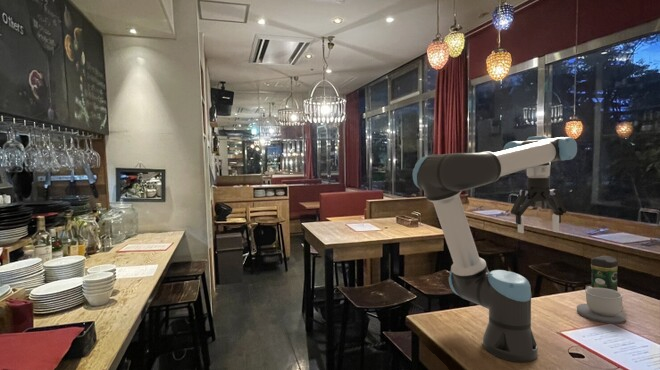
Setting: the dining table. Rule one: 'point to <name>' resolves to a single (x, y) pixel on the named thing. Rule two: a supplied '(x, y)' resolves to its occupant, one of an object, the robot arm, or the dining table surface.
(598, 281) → the coffee jar
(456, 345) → the dining table surface
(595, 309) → the teacup
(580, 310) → the charcoal plate
